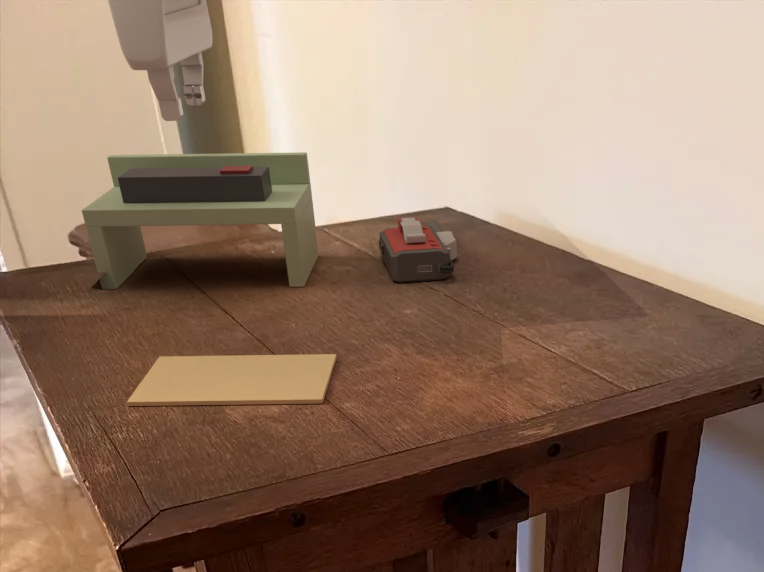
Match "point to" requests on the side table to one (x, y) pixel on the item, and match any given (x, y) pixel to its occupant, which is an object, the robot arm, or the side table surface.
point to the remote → (195, 184)
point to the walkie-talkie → (417, 251)
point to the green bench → (203, 212)
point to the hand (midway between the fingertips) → (185, 112)
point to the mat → (235, 380)
